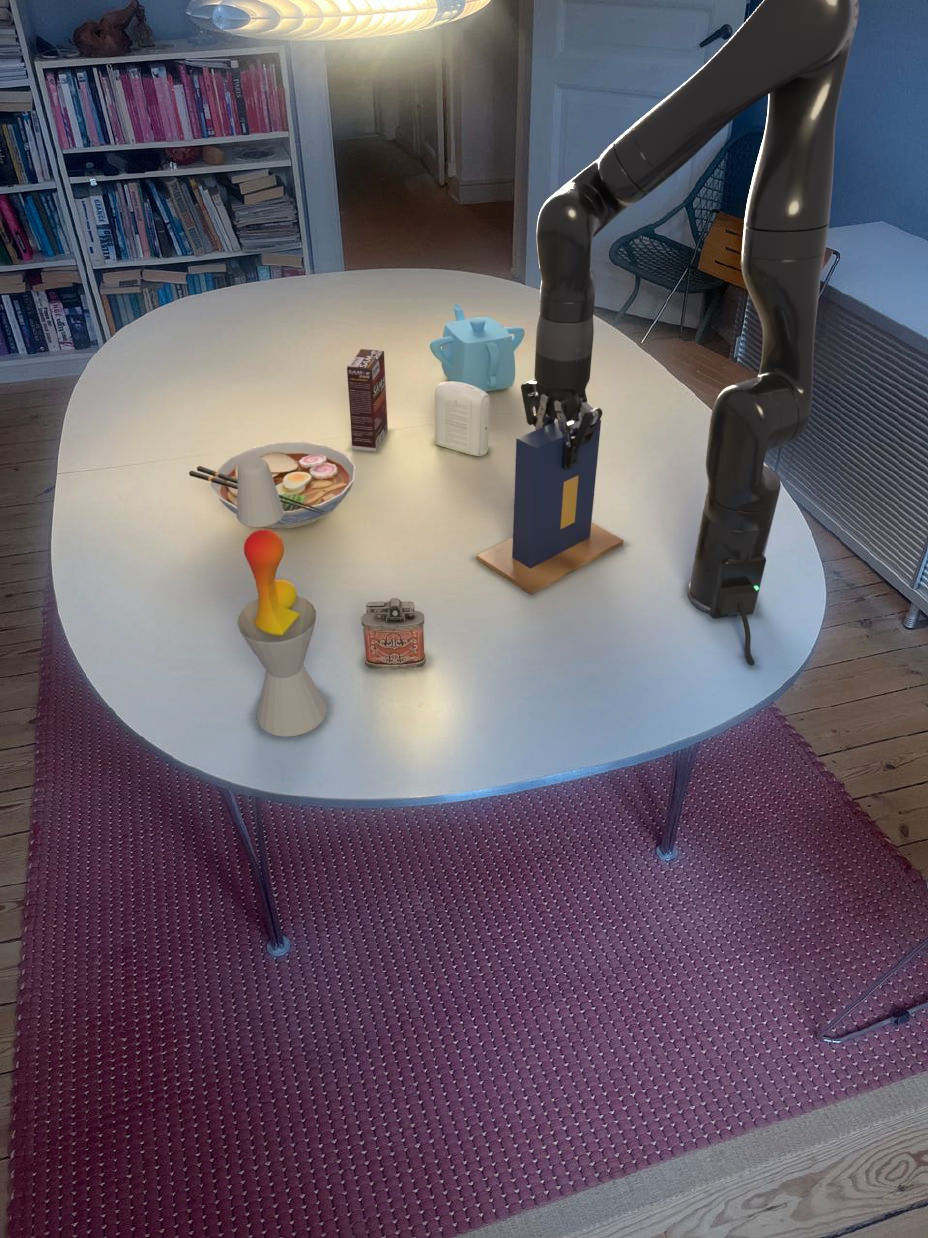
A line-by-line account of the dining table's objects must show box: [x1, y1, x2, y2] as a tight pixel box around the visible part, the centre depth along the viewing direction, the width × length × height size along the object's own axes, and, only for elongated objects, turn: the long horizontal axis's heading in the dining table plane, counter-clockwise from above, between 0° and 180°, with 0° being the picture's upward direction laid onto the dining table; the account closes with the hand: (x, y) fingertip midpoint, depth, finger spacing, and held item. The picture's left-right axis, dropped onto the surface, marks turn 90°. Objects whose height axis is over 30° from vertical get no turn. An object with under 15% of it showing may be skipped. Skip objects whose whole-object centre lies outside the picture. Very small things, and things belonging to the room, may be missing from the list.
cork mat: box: [476, 522, 624, 595], centre depth 146 cm, size 20×12×1 cm, turn 131°
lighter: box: [360, 597, 427, 671], centre depth 123 cm, size 8×3×10 cm, turn 92°
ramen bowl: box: [188, 441, 357, 529], centre depth 153 cm, size 25×23×8 cm
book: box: [512, 413, 602, 569], centre depth 140 cm, size 20×4×13 cm
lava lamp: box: [236, 457, 327, 738], centre depth 108 cm, size 9×9×35 cm
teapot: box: [429, 304, 526, 393], centre depth 191 cm, size 18×16×14 cm
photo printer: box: [434, 380, 491, 457], centre depth 169 cm, size 10×4×12 cm, turn 60°
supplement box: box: [346, 348, 389, 453], centre depth 171 cm, size 9×5×16 cm, turn 168°
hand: (556, 460), depth 137 cm, fingers open, 4 cm apart
